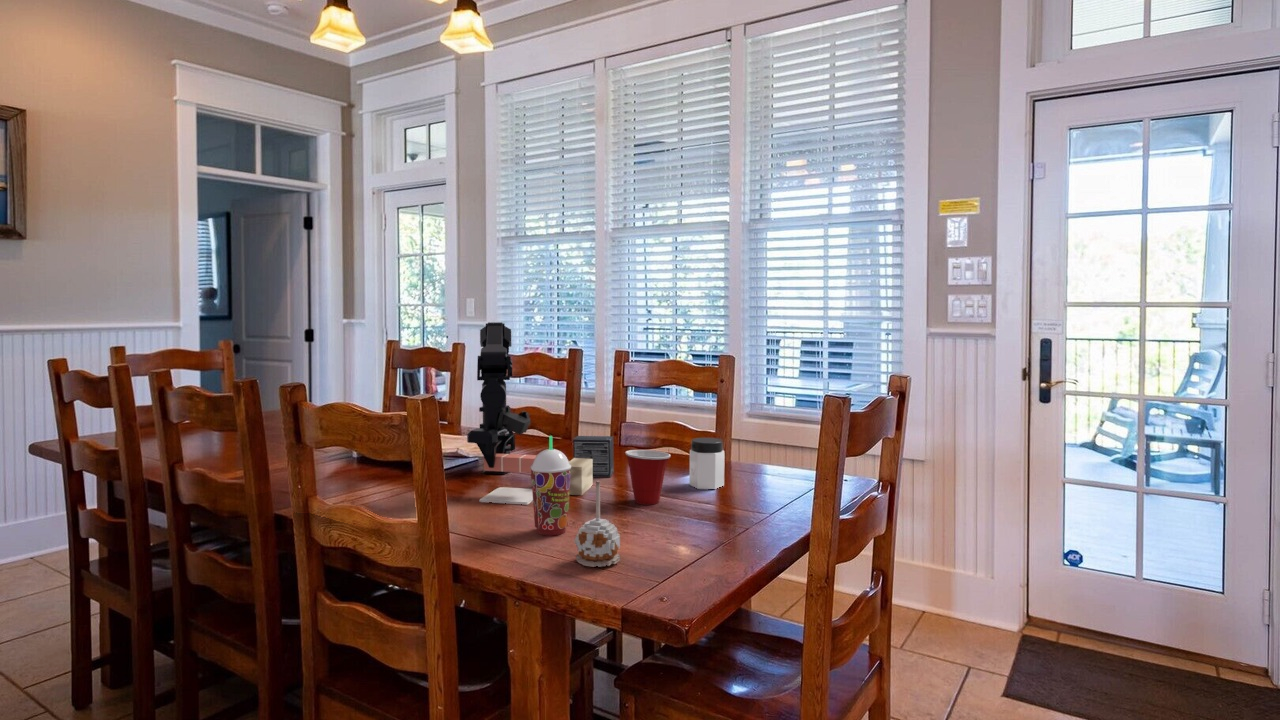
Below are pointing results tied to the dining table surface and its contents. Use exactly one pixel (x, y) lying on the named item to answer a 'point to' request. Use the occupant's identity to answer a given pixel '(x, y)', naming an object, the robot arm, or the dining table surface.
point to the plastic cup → (647, 474)
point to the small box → (596, 453)
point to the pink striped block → (511, 463)
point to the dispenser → (581, 475)
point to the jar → (706, 463)
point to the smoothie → (551, 491)
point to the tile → (509, 496)
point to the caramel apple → (597, 540)
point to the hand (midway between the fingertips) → (495, 465)
